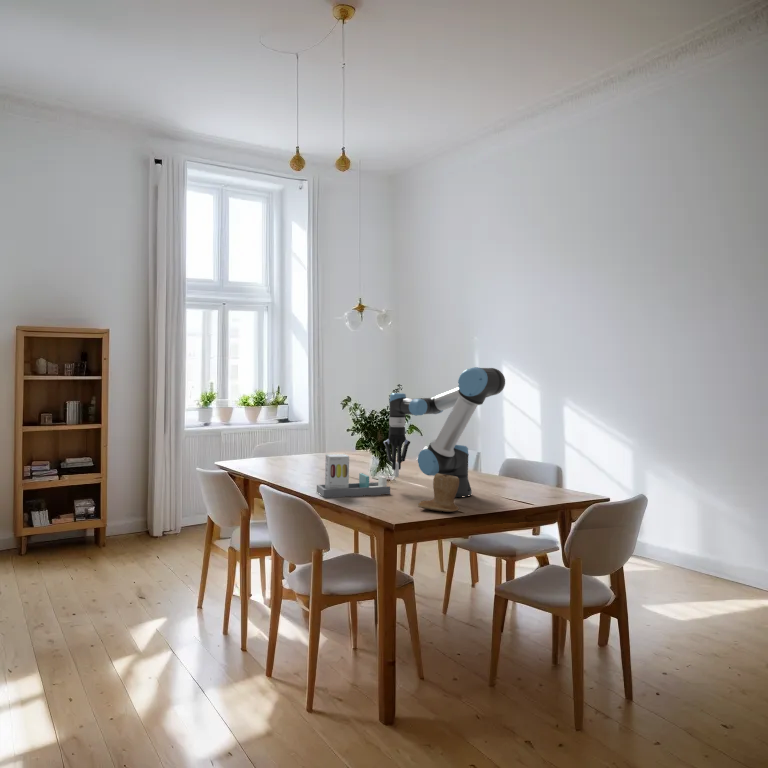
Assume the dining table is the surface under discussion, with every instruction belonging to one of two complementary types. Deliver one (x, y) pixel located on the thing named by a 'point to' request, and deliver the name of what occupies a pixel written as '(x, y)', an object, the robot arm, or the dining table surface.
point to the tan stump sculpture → (442, 494)
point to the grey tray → (353, 490)
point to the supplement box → (336, 471)
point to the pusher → (365, 481)
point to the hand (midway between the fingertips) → (396, 476)
